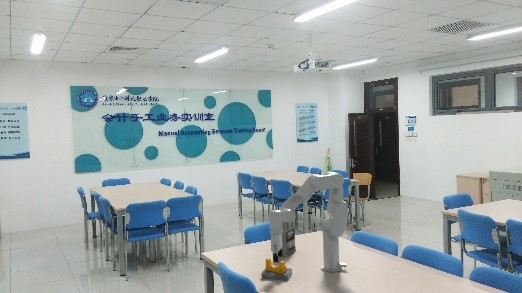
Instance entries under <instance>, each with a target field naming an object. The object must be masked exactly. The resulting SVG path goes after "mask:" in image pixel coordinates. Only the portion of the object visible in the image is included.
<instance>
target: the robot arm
mask: <svg viewBox="0 0 522 293" xmlns="http://www.w3.org/2000/svg"><path fill="white" fill-rule="evenodd" d="M344 183H345V179H344V176H343V174H341V173H338V172H335V171H327V172H325V173H324V175H319V174H310V175H309V176H308V177H307V178H306V180H305V181H304V182H303V183H302V185H301V186H300V187H299V188H298V190H297V191H296V192H295V193H293V194H292V195H291V196H289V197H288V198H287V199H286V200H285V201H284V202H283V203H282V204H281V205H280V207H279V209H272V210H269V213H268V221H269V234H270V251H271V252H272V263H280V261H279V259H280V258H281V257H283V256H282V235H281V234H282V233H283V230H282V222H292V221H294V222H295V220H296V218H297V217H296V216H297V214H296V212H295V211H294V209H296V207H298V206H299V205H301V204H303V203H307V202H308V201H309V200H310V198H311V197H312V196H313V195H314V194H315V193H316V191H326V190H329V192H328V194H329V195H328V199H327V205H326V212H327V214H328V215H330V217H326V218H324V219H323V221H322V222H321V231H322V242H323V243H322V245H323V252H322V254H323V264H322V265H321V266H320V268H321V270H322V271H324V272H328V273H333V272H334V273H335V272H336V273H337V272H340V271H342V268H347V267H348V266H347V263H345V262H341V260H340V240H339V238H341V237H342V236H343V235H344V234H345V231H346V228H347V223H348V218H349V208H348V207H347V205H346V204H344V203H343V199H344V187H343V184H344ZM279 257H280V258H279Z"/></svg>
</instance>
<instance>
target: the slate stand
mask: <svg viewBox="0 0 522 293" xmlns="http://www.w3.org/2000/svg"><path fill="white" fill-rule="evenodd" d="M292 275H293V268H288V267H287V271H286V272H284V273H279V272H274V271H269V270H266V267H265V268H264V269H263V270H262V272H261V279H265V280H266V279H268V280H281V281H289V280H290V278H291V276H292Z"/></svg>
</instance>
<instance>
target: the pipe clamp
mask: <svg viewBox="0 0 522 293" xmlns="http://www.w3.org/2000/svg"><path fill="white" fill-rule="evenodd" d="M265 268H266V270H269V271H274V272H279V273H284V272H286V271H287V268H288V266H287V265H286V261H284V260H281V261H279V265H275V264H273V261H272V260H271V258H269V257H268V258H265Z"/></svg>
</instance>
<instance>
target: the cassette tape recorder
mask: <svg viewBox="0 0 522 293" xmlns="http://www.w3.org/2000/svg"><path fill="white" fill-rule="evenodd" d="M295 223H296V222H295V220H294V221H292V222H282V230H283V233H282V234H281V235H282V257H288V256H290V255H292V254H293V253H295V252H296V251H297V249H296V235H295V234H296V230H295V229H296V228H295Z"/></svg>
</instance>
